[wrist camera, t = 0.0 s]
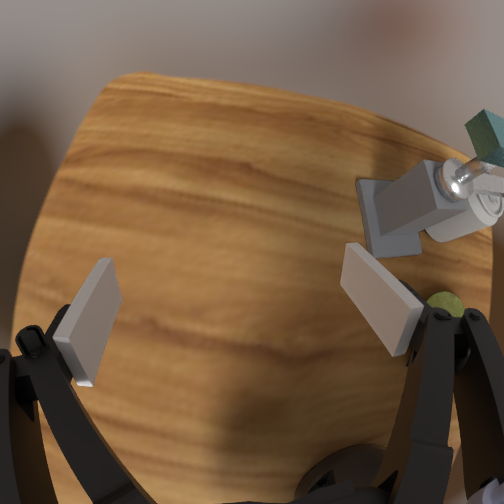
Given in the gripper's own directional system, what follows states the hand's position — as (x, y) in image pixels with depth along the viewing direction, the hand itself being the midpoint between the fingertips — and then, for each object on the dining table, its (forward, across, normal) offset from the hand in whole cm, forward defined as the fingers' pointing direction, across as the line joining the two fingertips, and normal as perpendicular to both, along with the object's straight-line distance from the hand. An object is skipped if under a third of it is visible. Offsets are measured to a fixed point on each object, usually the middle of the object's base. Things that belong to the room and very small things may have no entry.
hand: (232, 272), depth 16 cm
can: (+17, -30, +3) cm, 35 cm away
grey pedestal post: (+16, -21, +3) cm, 27 cm away
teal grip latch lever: (+7, -24, -4) cm, 25 cm away
